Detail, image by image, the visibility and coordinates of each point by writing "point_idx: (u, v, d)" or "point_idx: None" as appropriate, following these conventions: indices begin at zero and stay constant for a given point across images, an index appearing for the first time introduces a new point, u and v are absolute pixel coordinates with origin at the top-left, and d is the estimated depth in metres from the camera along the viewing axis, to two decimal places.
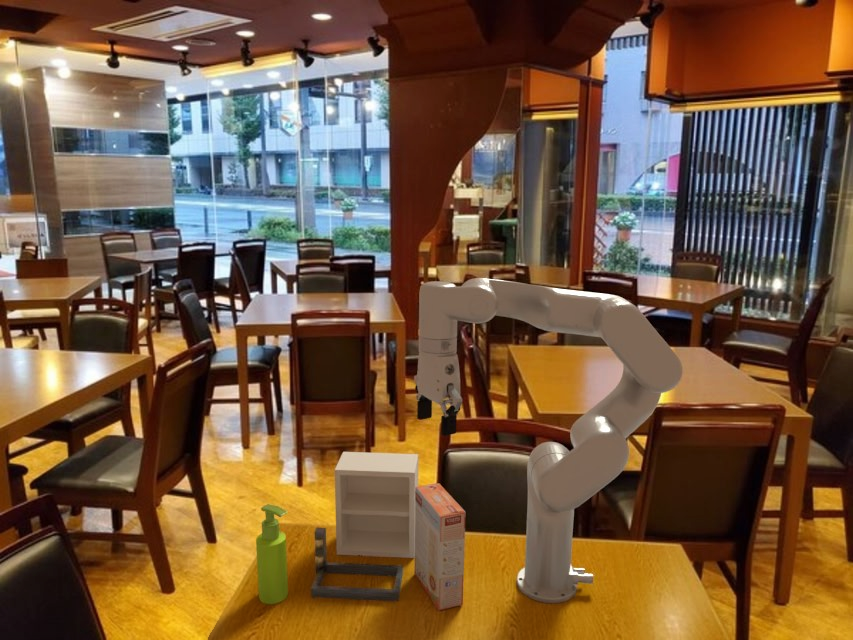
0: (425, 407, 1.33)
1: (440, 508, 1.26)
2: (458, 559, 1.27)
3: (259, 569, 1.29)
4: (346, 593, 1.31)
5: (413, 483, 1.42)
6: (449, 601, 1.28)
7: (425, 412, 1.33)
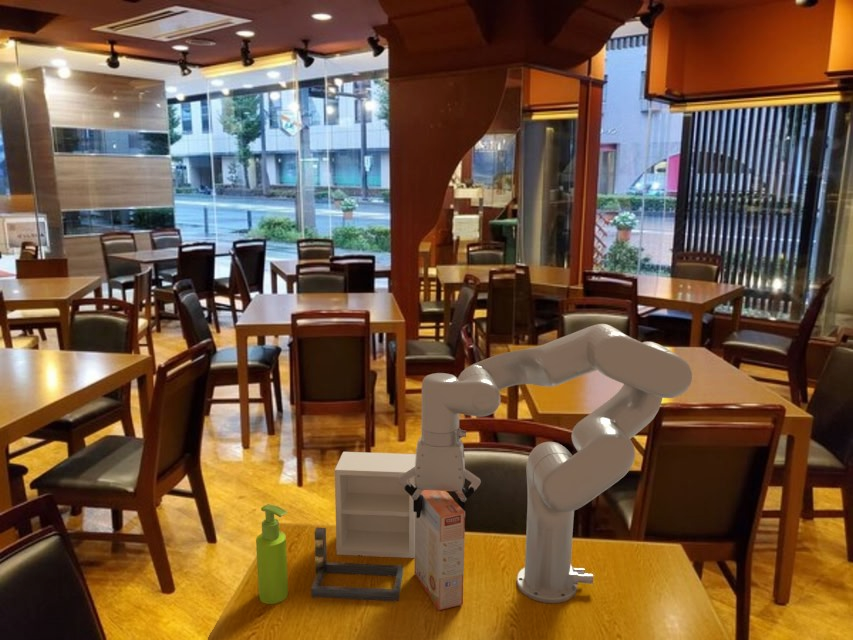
0: (420, 503, 1.31)
1: (440, 508, 1.26)
2: (458, 559, 1.27)
3: (259, 569, 1.29)
4: (346, 593, 1.31)
5: (413, 483, 1.42)
6: (449, 601, 1.28)
7: (420, 508, 1.31)
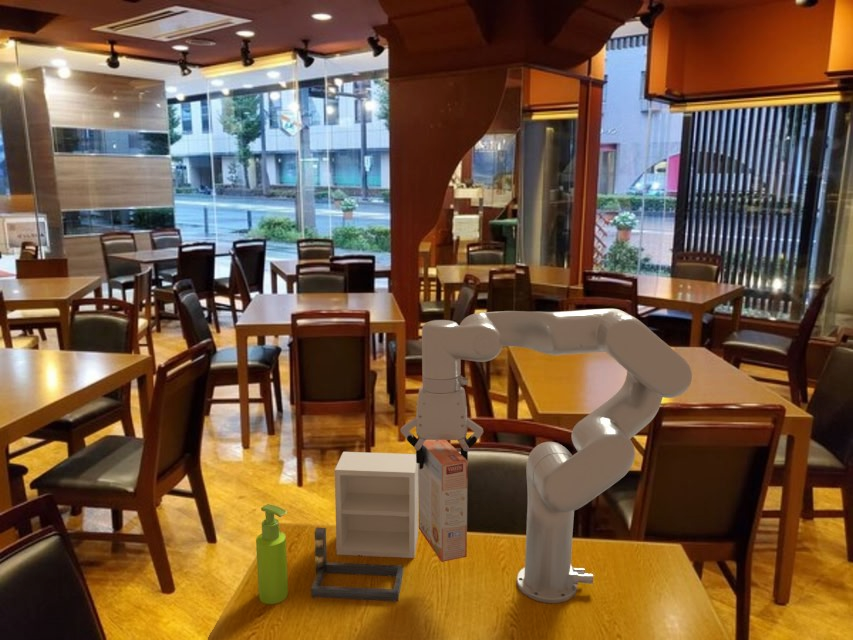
0: (423, 454, 1.29)
1: (442, 457, 1.24)
2: (461, 509, 1.25)
3: (259, 569, 1.29)
4: (346, 593, 1.31)
5: (413, 483, 1.42)
6: (452, 552, 1.26)
7: (423, 459, 1.29)
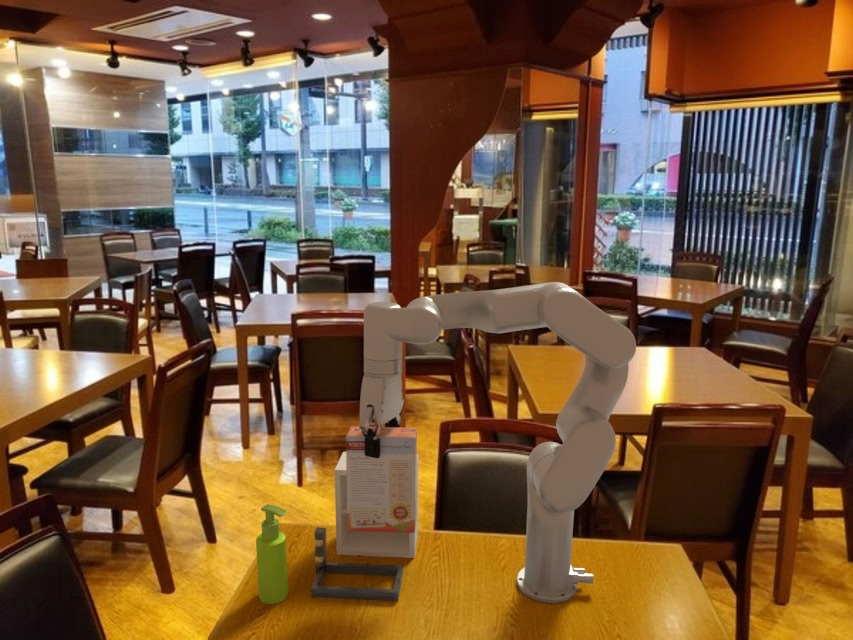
0: None
1: (402, 434, 1.27)
2: (416, 475, 1.32)
3: (259, 569, 1.29)
4: (346, 593, 1.31)
5: None
6: None
7: None
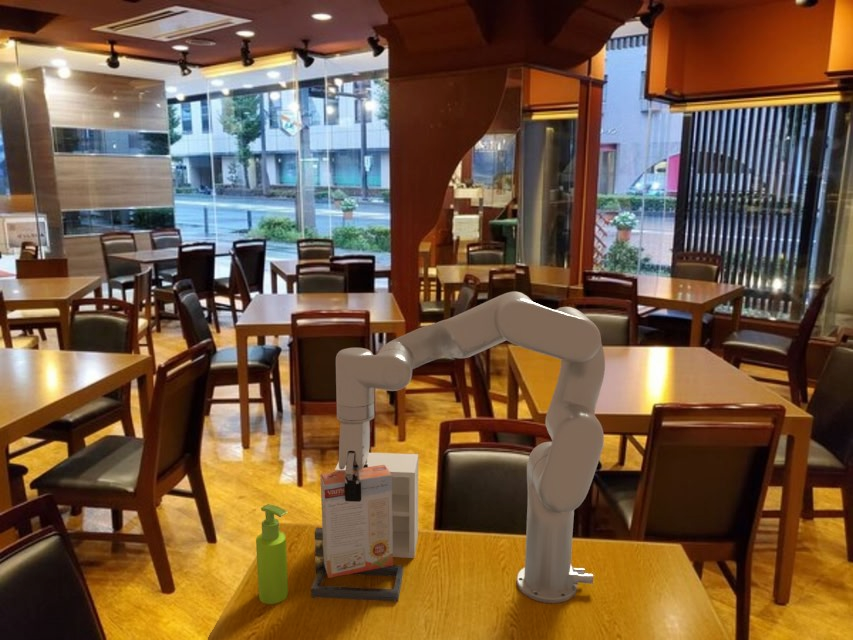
0: None
1: (377, 473, 1.31)
2: None
3: (259, 569, 1.29)
4: (346, 593, 1.31)
5: (413, 483, 1.42)
6: None
7: None
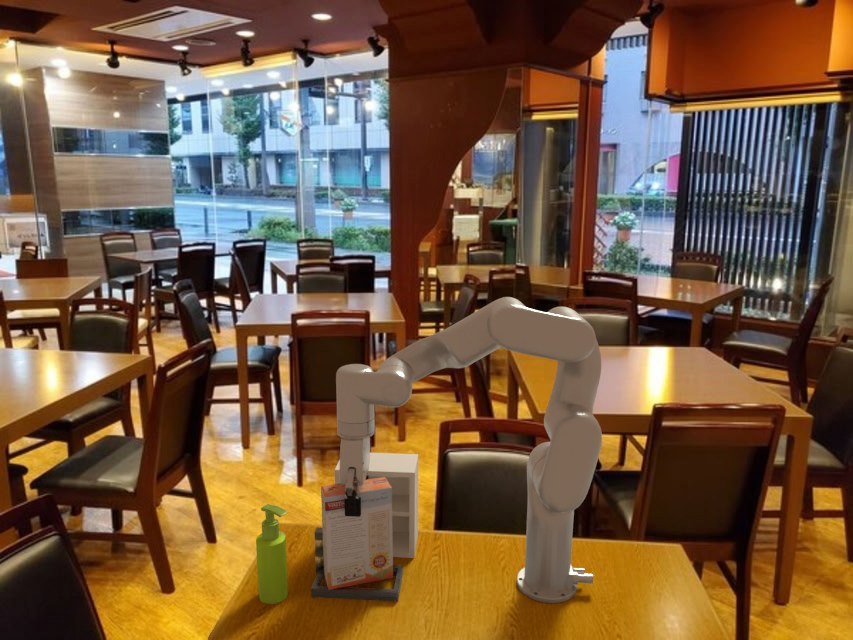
0: None
1: (377, 486, 1.31)
2: None
3: (259, 569, 1.29)
4: (346, 593, 1.31)
5: (413, 483, 1.42)
6: None
7: None
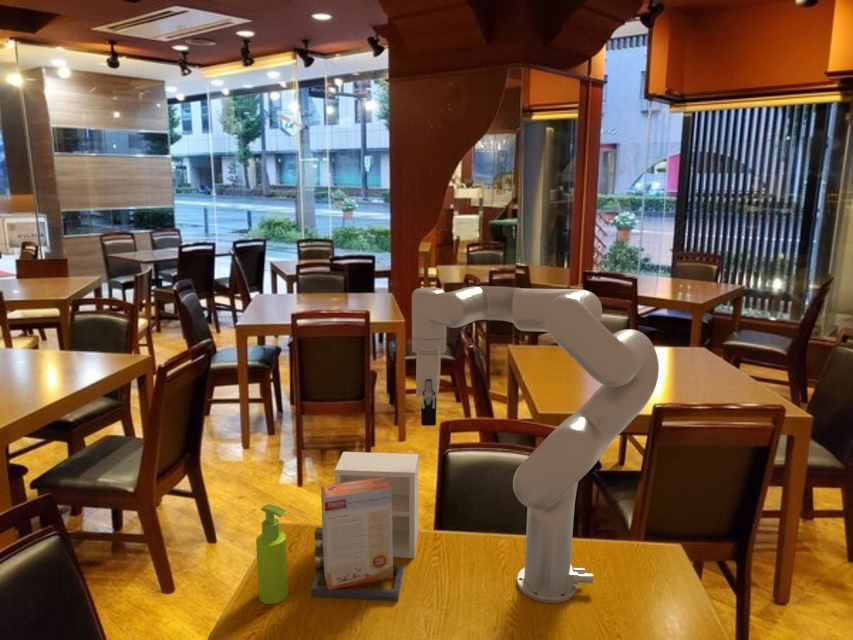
0: None
1: (377, 486, 1.31)
2: None
3: (259, 569, 1.29)
4: (346, 593, 1.31)
5: (413, 483, 1.42)
6: None
7: None
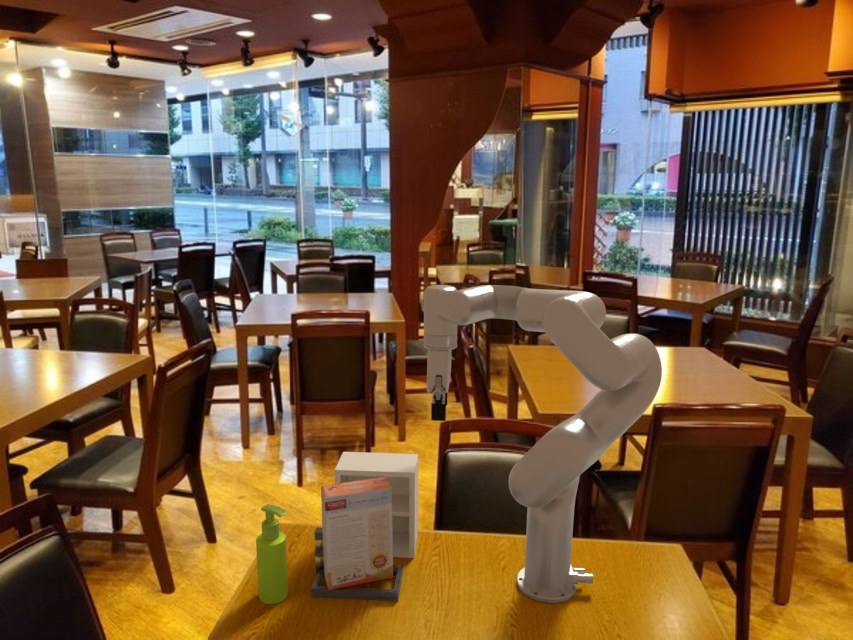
0: None
1: (377, 486, 1.31)
2: None
3: (259, 569, 1.29)
4: (346, 593, 1.31)
5: (413, 483, 1.42)
6: None
7: None
